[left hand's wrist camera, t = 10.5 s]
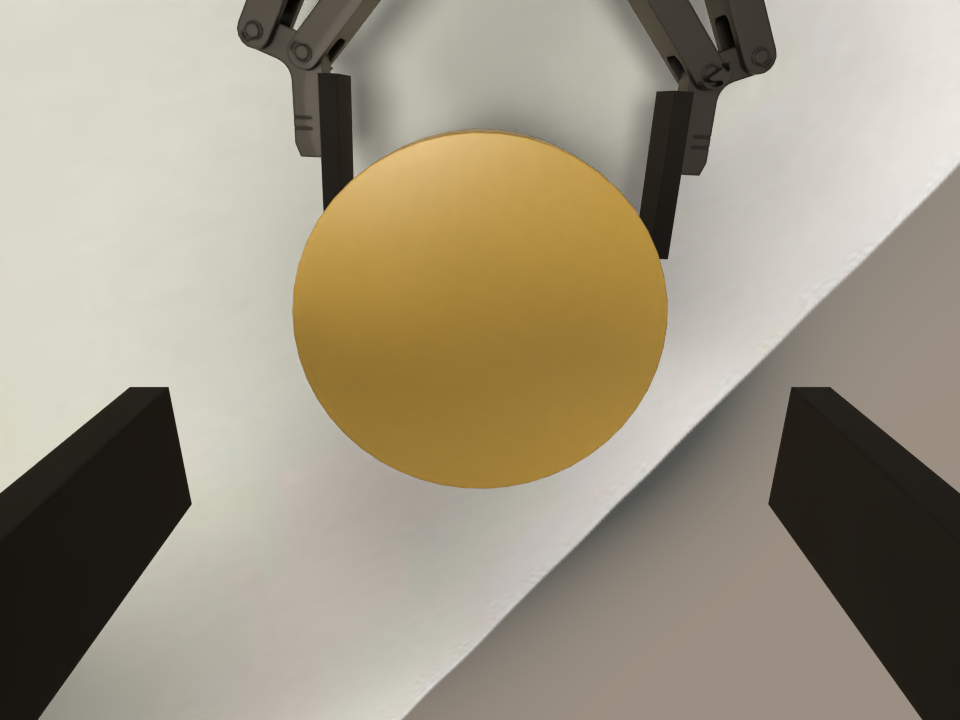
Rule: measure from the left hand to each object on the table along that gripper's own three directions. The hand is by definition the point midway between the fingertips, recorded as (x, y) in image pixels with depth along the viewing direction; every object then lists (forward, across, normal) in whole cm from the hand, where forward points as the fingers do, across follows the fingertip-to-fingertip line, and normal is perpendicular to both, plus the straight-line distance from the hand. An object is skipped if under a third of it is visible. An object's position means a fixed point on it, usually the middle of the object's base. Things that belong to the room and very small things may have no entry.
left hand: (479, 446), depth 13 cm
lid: (+8, 0, 0) cm, 8 cm away
